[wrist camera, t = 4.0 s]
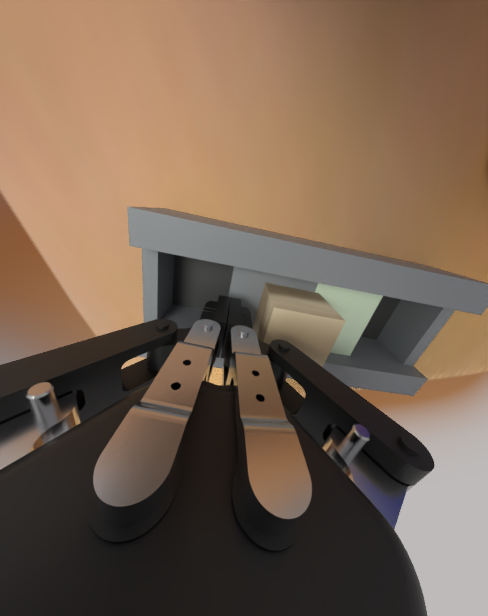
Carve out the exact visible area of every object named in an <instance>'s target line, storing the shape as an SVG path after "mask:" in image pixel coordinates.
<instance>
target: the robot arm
mask: <svg viewBox="0 0 488 616" xmlns="http://www.w3.org/2000/svg"><path fill="white" fill-rule="evenodd" d="M229 300H230V302H229ZM221 347H222V349H221ZM146 352H147V358H146V359H144V360H142V361H139V362H137V363H135V364H133V365H130V366H128V367H126V368H124V369H121V367H122V365H123V364H124V363H125V362H126V361H128V360H130V359H132V358H134V357H137V356H139V355H142V354H144V353H146ZM220 352H221V356H220ZM216 357H217V358H219V357H220V358H223V359H224V363H223V368H222V385H221V386H219V385H215V384H212V383H210V382H209V380H210V376H211V373H212V369H213V365H214V363H215V361H216ZM288 374H289V375H290V376H291V377H292V378H293V379H294V380H295V381H297V382H298V383H299V384H300V385H301V386H302V387H303V388H304V390H305V393H306V397H305V399H304V398H303V397H302V396H301V395H300V394H299V393H298V392H297V391H296V390H295V389H294V388H293V387H292V386H290V385H289V384H288V383H287V382H286V381H285V380H286V378H287V376H288ZM433 468H434V461H433V458H432V456H431V454H430V453H429V451H428V450H427V448H426V447H425V446H424V445H423V444H422V443H421V442H420V441H419V440H418V439H417V438H416V437H415V436H413V435H412V434H411V433H409V432H408V431H407V430H405V429H404V428H403V427H401V426H400V425H399V424H397V423H396V422H395V421H393V420H392V419H391V418H389V417H388V416H387V415H385V414H384V413H383V412H381V411H380V410H379V409H377V408H376V407H375V406H373V405H372V404H371V403H369V402H368V401H367V400H365V399H364V398H363V397H361V396H360V395H359V394H357V393H356V392H355V391H353V390H352V389H351V388H349V387H348V386H347V385H345V384H344V383H343V382H341V381H340V380H339V379H337V378H336V377H335V376H333V375H332V374H331V373H329V372H328V371H327V370H326V369H324V368H323V367H322V366H320V365H319V364H318V363H316V362H315V361H314V360H312V359H311V358H310V357H308V356H307V355H306V354H304V353H303V352H302V351H300V350H299V349H298V348H296V347H295V346H294V345H292V344H291V343H289V342H287V341H285V340H280V339H276V340H273V341H272V342H271V344H267V343H265V342H262V341H260V340H259V339H257V335H256V332H255V331H254V330H253V329H252V320H251V311H250V310H249V309H248V308H247V307H242V306H241V299H237V298H232V297H227V296H222V295H219V298H218V302H216V301H211V300H210V301H208V302H207V303H206V304H205V306H204V309H203V312H202V314H201V317H200V319H199V320H198V321H196V322H195V323H194V325H193V326H192V327H191V328H182V329H178V325H177V324H176V323H175V322H174V321H172V320H169V319H156V320H152V321H149V322H145V323H142V324H139V325H135V326H132V327H128V328H125V329H122V330H118V331H115V332H111V333H108V334H105V335H101V336H98V337H94V338H91V339H88V340H85V341H81V342H77V343H74V344H71V345H67V346H64V347H60V348H57V349H54V350H50V351H47V352H43V353H40V354H37V355H33V356H30V357H26V358H23V359H20V360H16V361H13V362H10V363H6V364H3V365H0V616H427V611H426V606H425V602H424V597H423V593H422V589H421V586H420V583H419V580H418V577H417V575H416V572H415V569H414V566H413V564H412V562H411V560H410V558H409V555H408V553H407V551H406V550H405V548H404V546H403V544H402V542H401V540H400V539H399V537H398V535H397V534H396V533H395V531H394V528H395V525H396V522H397V519H398V516H399V512H400V509H401V506H402V503H403V500H404V497H405V494H406V492H407V491H408V490H409V489H410V488H412V487H413V486H414V485H415V484H416V483H417V482H419V481H420V480H421V479H422V478H423V477H424V476H426V475H427V474H428V473H429V472H431V471H432V470H433Z"/></svg>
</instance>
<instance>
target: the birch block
mask: <svg viewBox="0 0 488 616" xmlns="http://www.w3.org/2000/svg"><path fill="white" fill-rule="evenodd" d="M345 322H346V321H345V320H344V319H343V318H342V317H341V315H340V314H339V313H338V312H337V311H336V310H335V309H334V308H333V307H332V306H331V305H330V304H329V303H328V302H327V301H326V300H325V299H324V298H323V297H322V296H321V295H320V294H319V293H316V292H311V291H306V290H301V289H296V288H291V287H286V286H281V285H276V284H271V283H266V282H265V285H264V289H263V292H262V296H261V300H260V303H259V307H258V311H257V314H256V318H255V321H254V325H253V330H254V331H255V332H256V335H257V339H259V340H260V341H262V342H265V343H267V344H271V342H272V341H273V340H276V339H280V340H285V341H287V342H289V343H291V344H292V345H294V346H295V347H296V348H298V349H299V350H300V351H302V352H303V353H304V354H306V355H307V356H308V357H310V358H311V359H312V360H314V361H315V362H316V363H318V364H319V365H320V366H322V367H323V365H324V363H325V361H326V359H327V357H328V355H329V353H330V351H331V349H332V348H333V346H334V344H335V342H336V340H337V338H338V336H339V334H340V332H341V330H342V328H343V326H344V324H345Z"/></svg>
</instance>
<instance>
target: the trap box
mask: <svg viewBox="0 0 488 616" xmlns="http://www.w3.org/2000/svg"><path fill="white" fill-rule="evenodd" d="M128 225H129V244H130V246H133V247H138V248H142V272H143V311H144V323H145V322H149V321H152V320H156V319H169V320H172V321H174V322H175V323H176V324H177V325H178V329H182V328H191V327H192V326H193V325H194V323H195V322H196V321H198V320H199V319H200V317H201V314H202V312H203V309H204V306H205V304H206V303H207V302H208V301H210V300H211V301H216V302H218V298H219V295H222V296H227V297H232V298H237V299H241V306H242V307H247V308H248V309H249V310H250V311H251V320H252V329H253V325H254V321H255V318H256V314H257V311H258V307H259V303H260V300H261V296H262V292H263V289H264V285H265V282H266V283H271V284H276V285H281V286H286V287H291V288H296V289H301V290H306V291H311V292H316V293H319V294H320V295H321V296H322V297H323V298H324V299H325V300H326V301H327V302H328V303H329V304H330V305H331V306H332V307H333V308H334V309H335V310H336V311H337V312H338V313H339V314H340V315H341V317H342V318H343V319H344V320H345V321H346V322H345V324H344V326H343V328H342V330H341V332H340V334H339V336H338V338H337V340H336V342H335V344H334V346H333V348H332V349H331V351H330V353H329V355H328V357H327V359H326V361H325V363H324V365H323V368H324V369H326V370H327V371H328V372H329V373H331V374H332V375H333V376H335V377H336V378H337V379H339V380H340V381H341V382H343V383H344V384H345V385H347V386H348V387H355V388H362V389H369V390H376V391H383V392H390V393H396V394H404V395H410V396H414V395H415V393H416V392H417V391H418V390H419V389H420V387H421V386H422V385H423V384H424V383H425V382H426V380H427V378H426V377H425V376H424V375H423V374H421V373H420V372H419V371H418V370H417V369H416V368H415V367H414V366H413V365H414V364H415V363H416V361H417V360H418V359H419V357H420V356H421V355H422V353H423V352H424V351H425V350H426V348H427V347H428V346H429V344H430V343H431V342H432V340H433V339H434V338H435V336H436V335H437V334H438V332H439V331H440V330H441V328H442V327H443V326H444V324H445V323H446V322H447V320H448V319H449V318H450V316H451V315H452V314H453V313H454V311H455V310H458V311H463V312H468V313H473V314H478V315H481V314H482V313H483V312H484V311H485V309H486V308H487V307H488V283H485V282H482V281H478V280H475V279H471V278H468V277H465V276H461V275H458V274H454V273H451V272H447V271H444V270H440V269H437V268H433V267H430V266H426V265H421V264H417V263H412V262H407V261H403V260H398V259H394V258H389V257H385V256H380V255H375V254H371V253H366V252H362V251H357V250H353V249H348V248H343V247H339V246H334V245H330V244H325V243H321V242H316V241H311V240H307V239H302V238H298V237H293V236H289V235H284V234H280V233H275V232H270V231H266V230H261V229H257V228H252V227H248V226H243V225H238V224H234V223H229V222H225V221H220V220H216V219H211V218H206V217H202V216H197V215H193V214H188V213H184V212H179V211H174V210H170V209H165V208H146V207H128ZM229 302H230V300H229ZM221 349H222V347H221ZM139 356H140V357H147V352H146V353H144V354H142V355H139ZM220 356H221V352H220ZM223 363H224V359H223V358H220V357H219V358H217V357H216V361H215V363H214V365H213V367H216V368H223ZM287 378H292V377H291V376H290V375H289V374H288V376H287ZM292 379H293V378H292Z"/></svg>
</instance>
